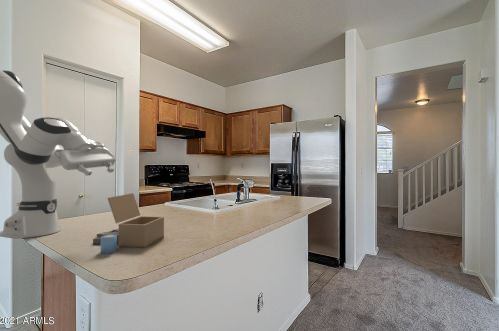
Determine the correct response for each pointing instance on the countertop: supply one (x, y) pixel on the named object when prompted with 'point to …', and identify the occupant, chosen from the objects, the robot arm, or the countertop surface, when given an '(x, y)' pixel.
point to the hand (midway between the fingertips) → (101, 172)
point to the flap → (124, 207)
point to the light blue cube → (108, 244)
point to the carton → (141, 231)
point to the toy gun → (113, 232)
